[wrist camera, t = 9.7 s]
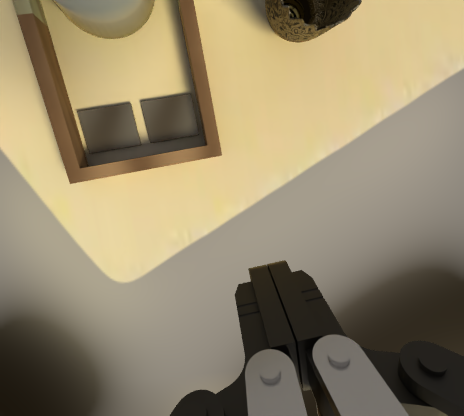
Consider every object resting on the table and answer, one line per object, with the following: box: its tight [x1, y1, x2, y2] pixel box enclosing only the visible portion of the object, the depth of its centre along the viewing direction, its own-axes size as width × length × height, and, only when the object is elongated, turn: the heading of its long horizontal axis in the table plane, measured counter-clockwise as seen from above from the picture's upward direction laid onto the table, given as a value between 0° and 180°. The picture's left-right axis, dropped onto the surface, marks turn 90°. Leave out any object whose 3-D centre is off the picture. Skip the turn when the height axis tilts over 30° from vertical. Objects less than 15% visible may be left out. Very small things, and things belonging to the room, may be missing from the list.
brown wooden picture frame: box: [13, 0, 222, 184], centre depth 25 cm, size 14×23×2 cm, turn 11°
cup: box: [265, 0, 362, 42], centre depth 24 cm, size 8×7×8 cm
